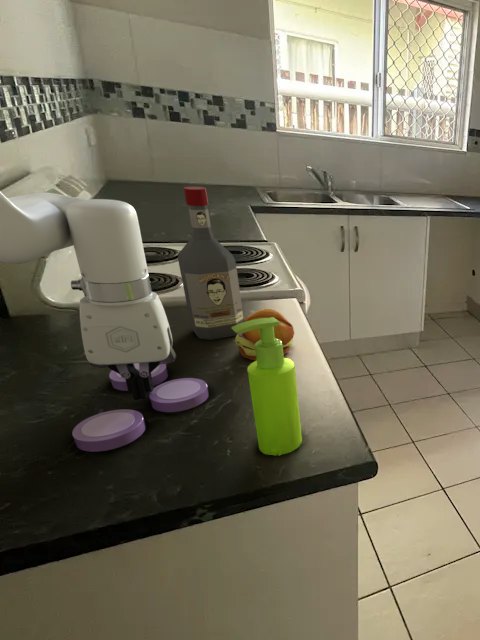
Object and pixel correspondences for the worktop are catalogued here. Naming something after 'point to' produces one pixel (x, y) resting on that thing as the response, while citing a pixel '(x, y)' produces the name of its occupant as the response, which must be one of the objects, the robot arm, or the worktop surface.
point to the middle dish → (178, 395)
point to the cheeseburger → (251, 337)
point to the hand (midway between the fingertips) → (142, 395)
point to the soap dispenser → (273, 391)
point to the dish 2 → (157, 374)
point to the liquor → (208, 275)
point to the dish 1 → (108, 430)
